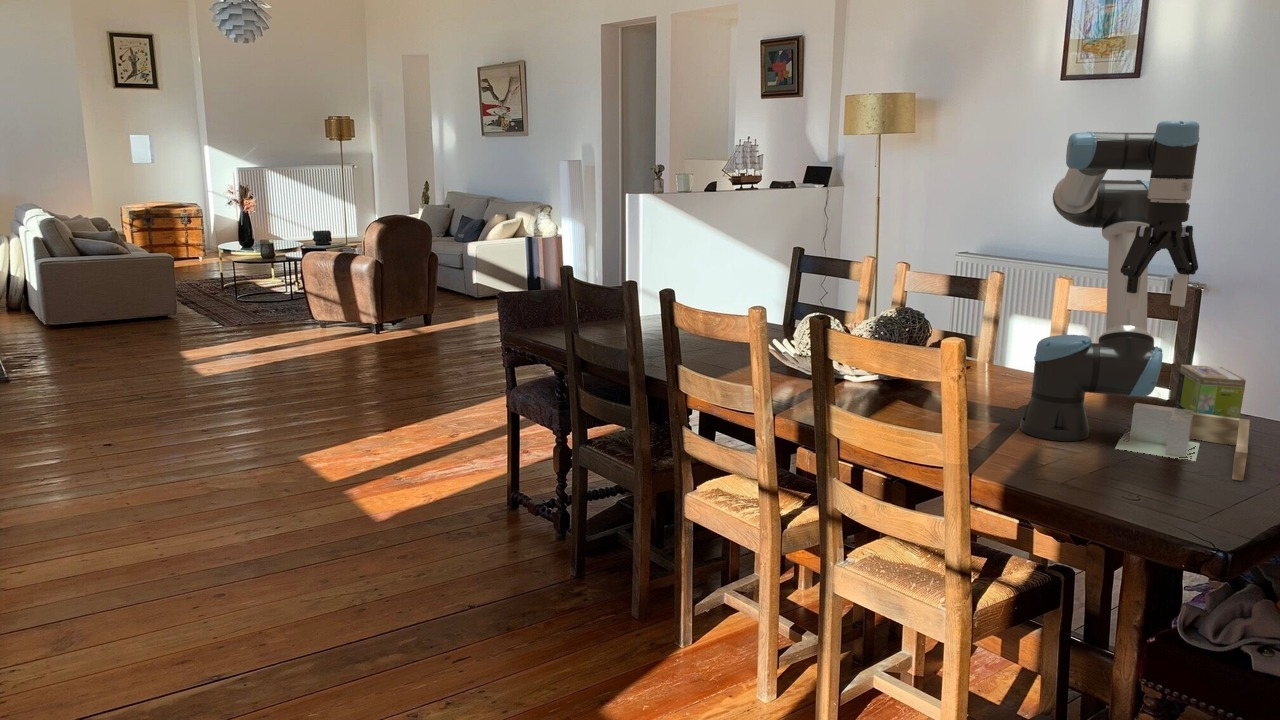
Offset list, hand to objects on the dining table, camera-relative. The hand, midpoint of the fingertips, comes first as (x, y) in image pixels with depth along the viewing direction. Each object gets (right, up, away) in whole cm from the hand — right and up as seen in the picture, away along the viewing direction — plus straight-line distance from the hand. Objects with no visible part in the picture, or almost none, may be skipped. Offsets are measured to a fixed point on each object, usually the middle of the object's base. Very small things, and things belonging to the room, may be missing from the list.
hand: (1155, 307), depth 196 cm
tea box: (+33, -28, +40) cm, 59 cm away
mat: (+15, -30, +26) cm, 43 cm away
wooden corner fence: (+19, -32, +21) cm, 42 cm away
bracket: (+14, -30, +26) cm, 42 cm away
